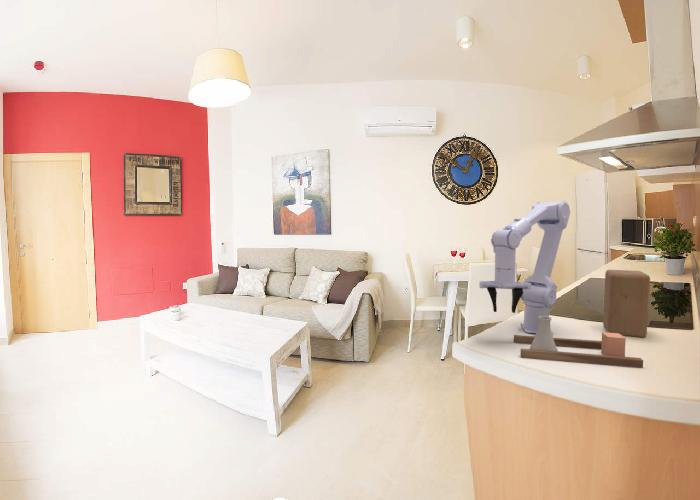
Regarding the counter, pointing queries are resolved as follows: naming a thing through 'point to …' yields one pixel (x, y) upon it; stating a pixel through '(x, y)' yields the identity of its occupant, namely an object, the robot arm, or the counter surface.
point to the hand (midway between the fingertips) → (504, 311)
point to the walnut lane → (576, 356)
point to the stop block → (613, 344)
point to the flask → (544, 336)
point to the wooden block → (626, 302)
